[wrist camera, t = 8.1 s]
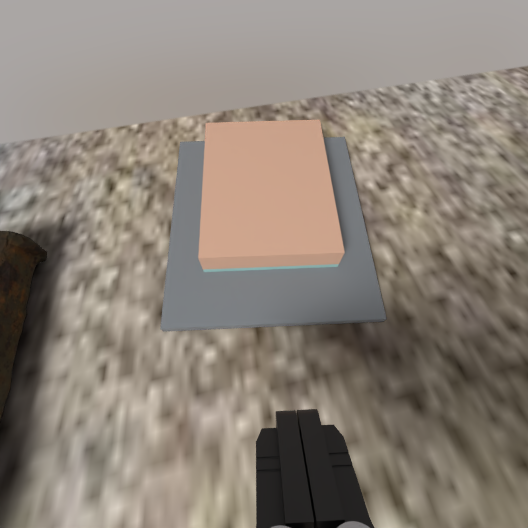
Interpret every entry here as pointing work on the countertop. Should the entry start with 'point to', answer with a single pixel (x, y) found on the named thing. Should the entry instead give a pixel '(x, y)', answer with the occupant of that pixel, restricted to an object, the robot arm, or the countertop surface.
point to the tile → (267, 198)
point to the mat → (274, 280)
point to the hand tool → (14, 298)
